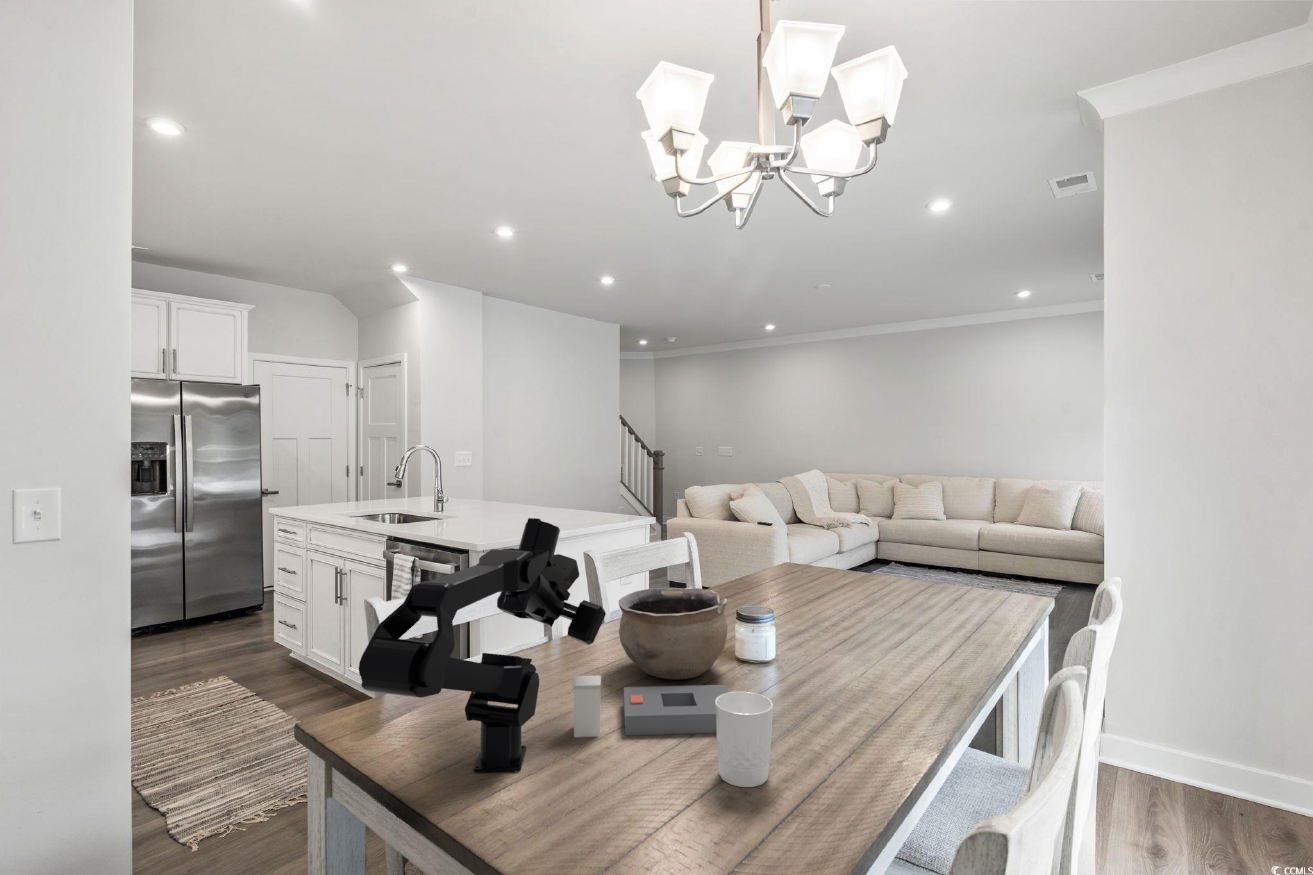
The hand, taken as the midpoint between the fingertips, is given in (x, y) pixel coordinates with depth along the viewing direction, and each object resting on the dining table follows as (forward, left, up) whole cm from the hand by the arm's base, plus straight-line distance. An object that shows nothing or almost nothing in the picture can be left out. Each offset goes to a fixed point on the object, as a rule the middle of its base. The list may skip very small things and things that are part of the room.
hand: (566, 624), depth 114 cm
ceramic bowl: (+12, -20, -14) cm, 27 cm away
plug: (-13, -4, -13) cm, 19 cm away
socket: (-9, -19, -13) cm, 25 cm away
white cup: (-28, -26, -14) cm, 41 cm away
